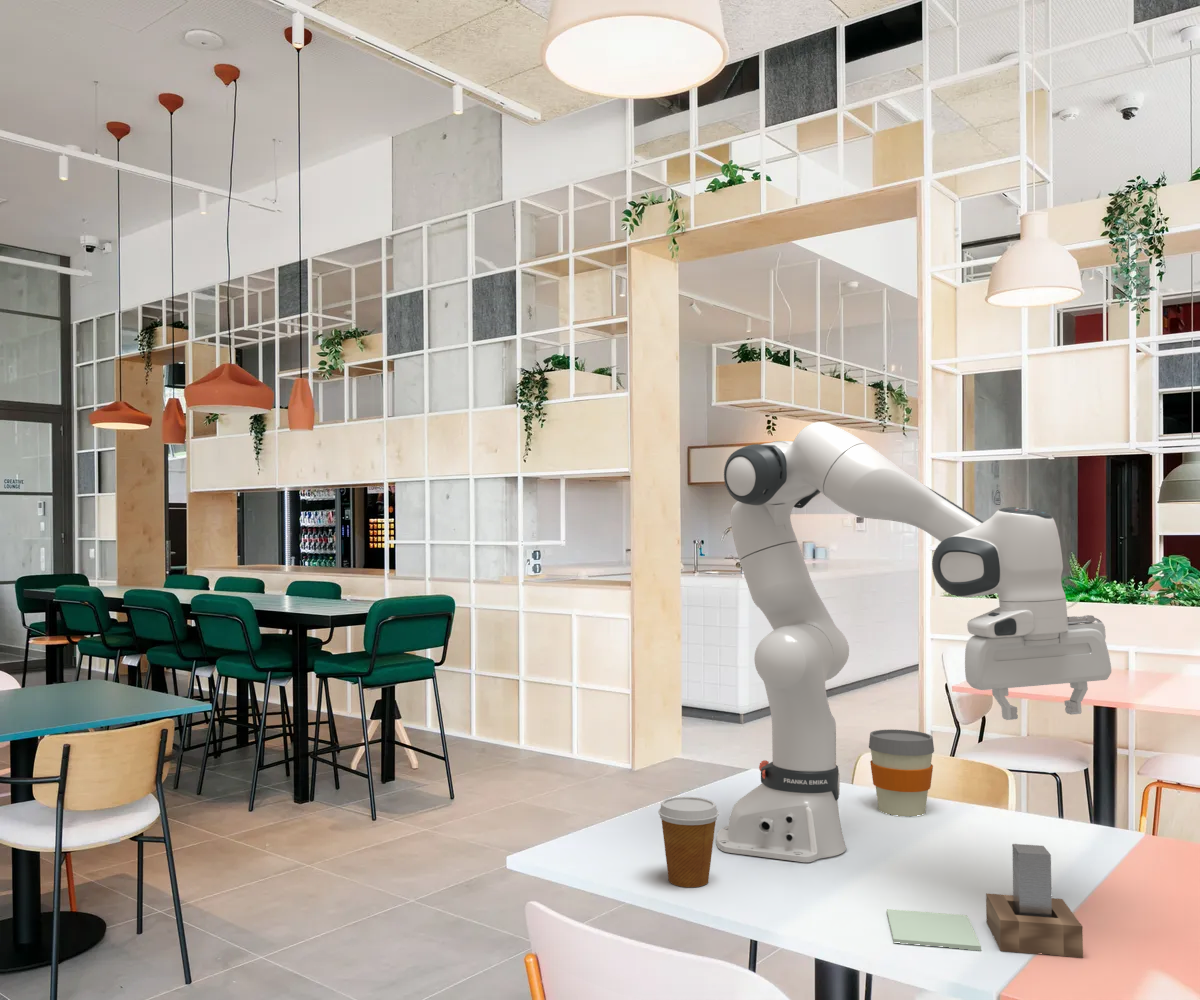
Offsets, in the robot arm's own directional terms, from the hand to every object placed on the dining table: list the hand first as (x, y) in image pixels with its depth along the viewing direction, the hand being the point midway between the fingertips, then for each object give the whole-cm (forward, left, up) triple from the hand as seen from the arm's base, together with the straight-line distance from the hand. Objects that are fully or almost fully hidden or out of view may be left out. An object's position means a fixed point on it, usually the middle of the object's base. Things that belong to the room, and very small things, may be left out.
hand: (1042, 716), depth 140 cm
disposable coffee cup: (-51, +6, -29) cm, 59 cm away
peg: (-3, -7, -29) cm, 30 cm away
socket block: (-3, -7, -29) cm, 30 cm away
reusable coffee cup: (-14, +56, -29) cm, 64 cm away
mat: (-16, -7, -29) cm, 34 cm away
